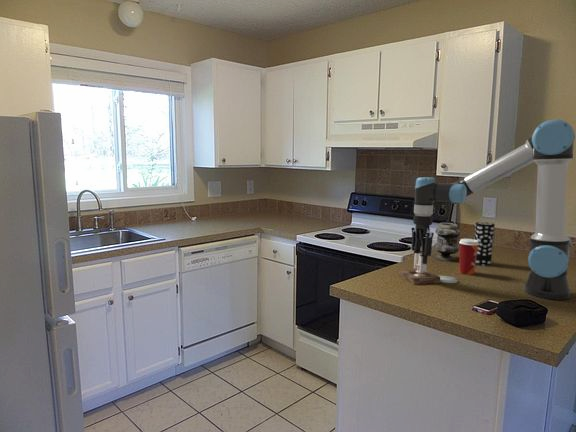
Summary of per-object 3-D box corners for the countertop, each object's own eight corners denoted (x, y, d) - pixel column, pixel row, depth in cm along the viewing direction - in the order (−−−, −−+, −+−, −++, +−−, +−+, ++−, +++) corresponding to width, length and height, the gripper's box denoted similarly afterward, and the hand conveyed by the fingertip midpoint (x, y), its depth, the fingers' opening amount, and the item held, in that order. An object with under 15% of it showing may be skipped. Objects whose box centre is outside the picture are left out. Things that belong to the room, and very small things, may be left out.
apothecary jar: (460, 262, 205) (463, 226, 203) (435, 260, 207) (438, 225, 205) (455, 256, 217) (457, 222, 215) (431, 255, 219) (433, 221, 216)
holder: (439, 282, 172) (440, 276, 171) (413, 284, 169) (413, 278, 169) (424, 274, 183) (424, 269, 183) (399, 275, 181) (399, 270, 180)
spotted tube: (474, 265, 201) (477, 224, 198) (470, 260, 208) (474, 221, 206) (492, 266, 199) (496, 225, 196) (488, 262, 207) (492, 222, 204)
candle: (425, 275, 178) (427, 251, 176) (426, 279, 172) (427, 254, 171) (412, 274, 179) (414, 251, 177) (413, 278, 174) (414, 253, 172)
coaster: (462, 282, 172) (462, 281, 172) (443, 283, 170) (443, 282, 170) (449, 276, 181) (449, 275, 181) (430, 277, 179) (431, 276, 179)
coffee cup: (478, 276, 182) (481, 242, 180) (458, 274, 184) (461, 241, 182) (474, 270, 190) (476, 238, 188) (455, 269, 192) (457, 237, 190)
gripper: (443, 217, 164) (439, 274, 168) (420, 211, 181) (417, 264, 184) (426, 218, 163) (422, 275, 166) (404, 212, 179) (402, 264, 183)
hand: (419, 269), depth 175 cm, fingers closed on candle, 4 cm apart
